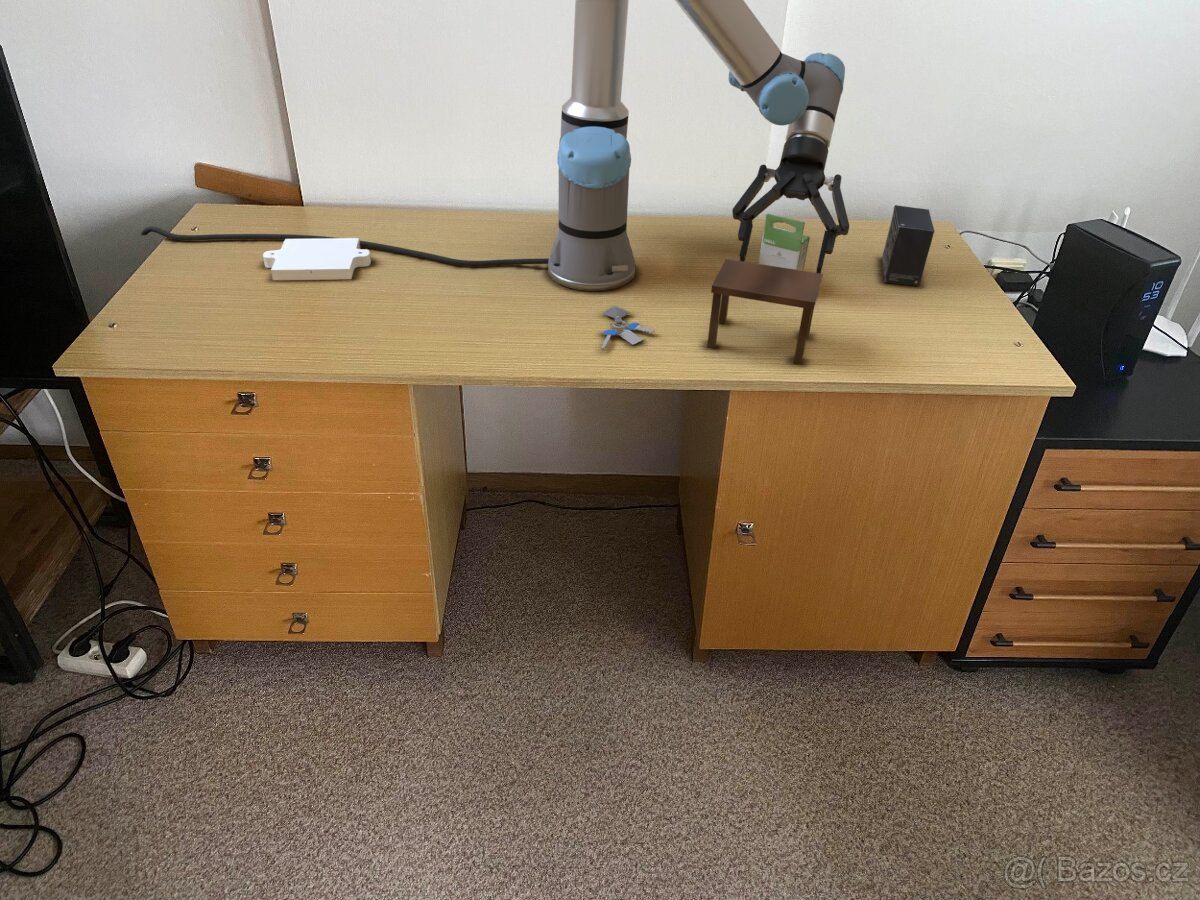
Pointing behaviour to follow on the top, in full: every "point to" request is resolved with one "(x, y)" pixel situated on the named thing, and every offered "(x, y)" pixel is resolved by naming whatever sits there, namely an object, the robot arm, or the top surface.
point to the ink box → (783, 244)
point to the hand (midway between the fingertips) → (779, 264)
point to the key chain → (626, 334)
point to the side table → (764, 294)
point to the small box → (907, 245)
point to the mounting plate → (316, 259)
